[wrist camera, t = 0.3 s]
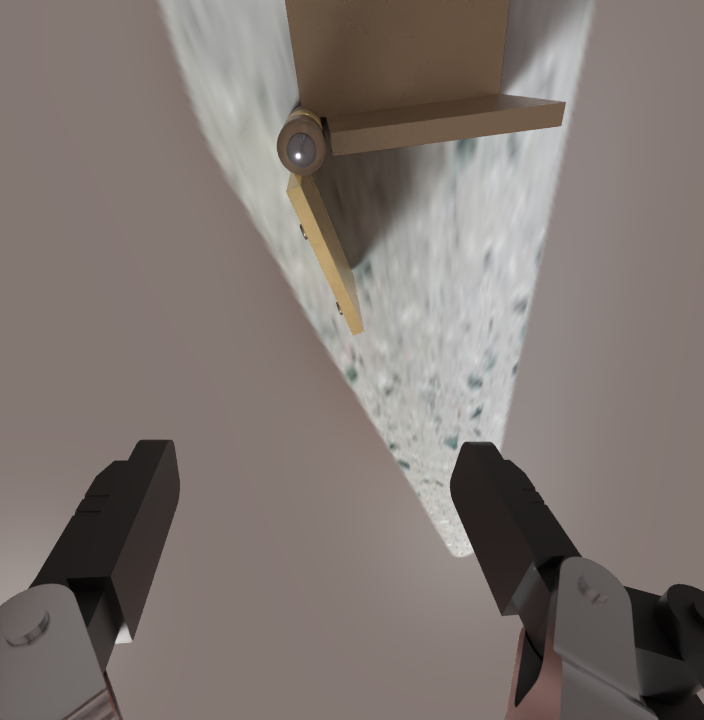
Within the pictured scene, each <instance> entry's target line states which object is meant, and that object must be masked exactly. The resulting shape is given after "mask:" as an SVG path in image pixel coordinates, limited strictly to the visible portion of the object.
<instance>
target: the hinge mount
mask: <svg viewBox="0 0 704 720" xmlns="http://www.w3.org/2000/svg"><path fill="white" fill-rule="evenodd" d="M509 2H510V0H285V4H286V11H287V17H288V23H289V30H290V36H291V43H292V49H293V56H294V62H295V69H296V75H297V82H298V88H299V94H300V101H301V106H299V107H297V108H295V109H294V110H293V111H292V112H291V114H292V113H293V112H295V111H298V110H308V111H311V112H312V113H314V114H315V115H316V116H317V117H318V118H319V120H320V121H321V123H322V120H321V117H326V122H327V130H328V135H329V140H330V144H331V148H332V153H333V156H339V155H346V154H354V153H361V152H369V151H376V150H384V149H391V148H399V147H407V146H414V145H422V144H429V143H437V142H444V141H452V140H459V139H467V138H474V137H482V136H490V135H497V134H505V133H512V132H520V131H527V130H535V129H542V128H550V127H558V126H561V125H562V119H563V114H564V109H565V104H566V102H561V101H553V100H545V99H537V98H529V97H521V96H513V95H505V94H500V85H501V76H502V67H503V58H504V48H505V39H506V30H507V20H508V11H509ZM291 114H290V115H291ZM290 115H289V116H290ZM288 118H289V117H288ZM322 126H323V125H322ZM277 152H278V156H279V158H280V160H281V162H282V164H283V165H284V166H285V167H286V168H287V169H288V170H289V171H290V172H292V173H294V174H297V175H309V174H312V173H314V172H316V171H317V170H318V169H319V168H320V167H321V166H322V164H323V162H324V160H325V156H326V143H325V137H324V133H323V130H322V128H321V126H320V124H319V123H318V122H317V121H316V120H315V119H314V118H312V117H310V116H308V115H302V114H301V115H295V116H293V117H291V118H290V119H289V120H288V121H287V122H286V123H285V125H284V127H283V128H282V130H281V132H280V134H279V137H278V141H277Z"/></svg>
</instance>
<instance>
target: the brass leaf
mask: <svg viewBox="0 0 704 720" xmlns="http://www.w3.org/2000/svg"><path fill="white" fill-rule="evenodd" d="M301 114H302V115H308V116H310V117H312V118H314V119H315V120H316V121H317V122H318V123H319V124H320V126H321V128H322V130H323V126H322V123H321V121H320V120H319V118H318V117H317V116H316V115H315V114H314V113H312V112H311V111H308V110H298V111H295V112H293V113H292V114H291V115H290V116H289V118H288V119H287V121H288V120H289V119H290V118H291V117H293V116H295V115H301ZM287 121H286V122H287ZM323 133H324V131H323ZM286 192H287V194H288V197H289V199H290V201H291V203H292V205H293V207H294V209H295V212H296V214H297V216H298V218H299V220H300V222H301V224H300V228H301V231H302V234H303V236H304V238H305V239H306V240H307V239H308V240H309V242H310V244H311V246H312V248H313V250H314V252H315V255H316V257H317V259H318V261H319V263H320V265H321V268H322V270H323V272H324V274H325V276H326V278H327V280H328V283H329V285H330V287H331V289H332V291H333V293H334V295H335V298H336V300H337V302H336V304H337V307H338V310H339V312H340V314H341V315H344V317H345V319H346V321H347V323H348V326H349V328H350V330H351V332H352V334H353V335H356V334H359V333H361V332H364V328H363V322H362V317H361V312H360V307H359V302H358V297H357V292H356V286H355V281H354V276H353V273H352V270H351V268H350V266H349V263H348V261H347V258H346V256H345V254H344V251H343V249H342V246H341V244H340V241H339V239H338V237H337V234H336V232H335V229H334V227H333V225H332V222H331V220H330V217H329V215H328V212H327V210H326V208H325V205H324V203H323V200H322V198H321V196H320V193H319V191H318V188H317V186H316V184H315V181H314V179H313V176H312V174H309V175H297V174H294V173H292V172H291V173H290V178H289V182H288V187H287V191H286Z"/></svg>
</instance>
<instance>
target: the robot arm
mask: <svg viewBox="0 0 704 720" xmlns="http://www.w3.org/2000/svg"><path fill="white" fill-rule="evenodd" d="M179 492H180V479H179V473H178V466H177V459H176V452H175V446H174V442H173V441H172V440H140V441H138V443H137V444H136V446H135V448H134V450H133V452H132V454H131V456H130V457H129V459H128V461H114V462H112V463H111V464H110V465H109V466H108V467H107V468H105V469H104V470H103V471H102V472H101V473H100V474H99V475H97V476H96V477H95V479H94V481H93V482H92V484H91V486H90V487H89V489H88V491H87V493H86V494H85V498H84V499H82V501H81V503H80V504H79V506H78V508H77V509H76V511H75V515H74V516H72V518H71V519H70V521H69V523H68V524H67V526H66V528H65V530H64V531H63V533H62V535H61V536H60V538H59V540H58V541H57V543H56V545H55V547H54V548H53V550H52V551H51V553H50V555H49V556H48V558H47V560H46V561H45V563H44V565H43V567H42V568H41V570H40V572H39V573H38V575H37V577H36V579H35V580H34V581H33V583H32V584H31V586H30V587H29V588H28V589H27V590H25V591H23V592H21V593H18V594H17V595H15V596H13V597H12V598H10V599H9V600H7V601H6V602H5V603H3V604H2V605H1V606H0V720H124V719H123V716H122V713H121V710H120V708H119V705H118V702H117V699H116V696H115V694H114V691H113V688H112V685H111V682H110V680H109V677H108V674H107V671H106V666H107V664H108V661H109V658H110V655H111V652H112V650H113V647H114V644H117V643H130V642H133V639H134V636H135V633H136V630H137V627H138V624H139V621H140V617H141V614H142V612H143V608H144V605H145V602H146V599H147V596H148V593H149V590H150V587H151V584H152V581H153V578H154V575H155V572H156V569H157V566H158V563H159V559H160V556H161V553H162V550H163V547H164V544H165V541H166V538H167V535H168V532H169V529H170V526H171V523H172V519H173V517H174V513H175V511H176V508H177V504H178V500H179ZM450 492H451V497H452V500H453V503H454V505H455V508H456V510H457V512H458V515H459V517H460V519H461V522H462V524H463V526H464V529H465V531H466V533H467V536H468V538H469V540H470V543H471V545H472V547H473V550H474V552H475V554H476V557H477V559H478V561H479V564H480V566H481V568H482V571H483V573H484V575H485V578H486V580H487V583H488V585H489V587H490V589H491V592H492V594H493V597H494V599H495V601H496V603H497V606H498V608H499V611H500V613H501V615H502V616H507V615H519V616H520V619H521V620H522V623H523V627H522V628H521V631H520V635H519V641H518V647H517V653H516V659H515V665H514V671H513V677H512V683H511V689H510V695H509V701H508V707H507V711H506V715H505V719H504V720H704V704H703V703H702V702H701V700H700V699H699V697H698V696H697V694H696V693H697V692H699V691H700V690H701V689H702V688H704V591H702V590H699V589H697V588H695V587H692V586H688V585H684V584H677V585H673V586H671V587H670V588H669V589H668V590H667V591H666V592H665V593H664V594H663V595H662V596H659V595H655V594H651V593H648V592H644V591H640V590H637V589H633V588H629V587H626V586H623V585H622V584H621V582H620V581H619V580H618V579H617V578H616V577H615V576H614V575H613V574H612V573H611V572H610V571H609V570H607V569H606V568H604V567H603V566H601V565H600V564H598V563H596V562H594V561H592V560H590V559H587V558H583V557H582V556H581V555H580V553H579V552H578V550H577V549H576V548H575V546H574V545H573V543H572V542H571V540H570V539H569V537H568V536H567V534H566V533H565V531H564V530H563V528H562V527H561V525H560V524H559V522H558V521H557V520H556V518H555V517H554V515H553V514H552V513H551V511H550V509H549V508H548V506H547V505H545V504H544V500H543V499H542V497H541V496H540V495H539V493H538V492H536V491H535V487H534V486H533V484H532V483H531V481H530V480H529V478H528V477H527V475H526V474H525V473H524V472H523V471H522V470H521V469H520V468H518V467H517V466H516V465H515V464H514V463H513V462H511V461H510V460H504V459H503V457H502V456H501V454H500V453H499V451H498V449H497V448H496V446H495V445H494V444H493V443H492V442H464V443H463V445H462V447H461V450H460V453H459V456H458V458H457V461H456V464H455V467H454V470H453V473H452V476H451V480H450Z"/></svg>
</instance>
